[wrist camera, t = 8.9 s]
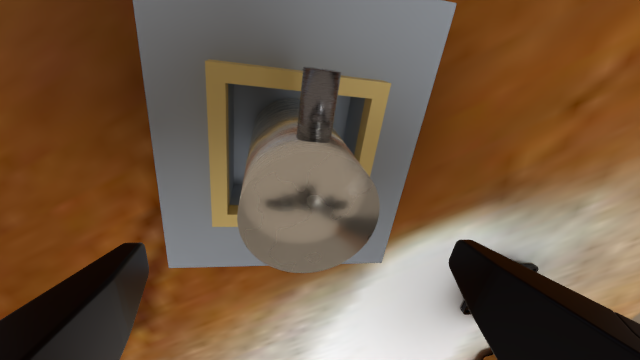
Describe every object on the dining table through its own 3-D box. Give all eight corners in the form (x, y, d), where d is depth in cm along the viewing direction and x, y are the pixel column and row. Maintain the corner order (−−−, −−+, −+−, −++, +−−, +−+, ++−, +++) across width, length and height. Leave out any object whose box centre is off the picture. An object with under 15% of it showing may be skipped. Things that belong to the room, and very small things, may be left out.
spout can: (324, 174, 19) (364, 272, 11) (250, 170, 18) (236, 274, 10) (341, 63, 16) (413, 85, 8) (254, 51, 15) (239, 62, 7)
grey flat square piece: (366, 232, 23) (386, 273, 19) (183, 232, 20) (163, 280, 16) (420, 9, 16) (470, 1, 12) (156, -40, 13) (111, -72, 9)
